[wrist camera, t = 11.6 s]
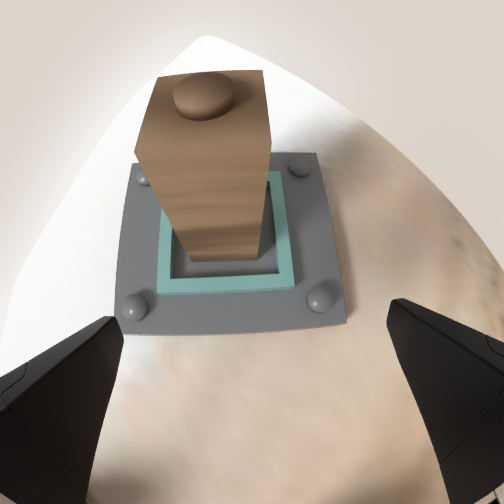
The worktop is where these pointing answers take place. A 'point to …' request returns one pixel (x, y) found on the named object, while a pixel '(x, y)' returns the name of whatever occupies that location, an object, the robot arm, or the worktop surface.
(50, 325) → the worktop surface
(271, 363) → the worktop surface
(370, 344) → the worktop surface
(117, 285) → the baseplate
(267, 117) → the pillar
